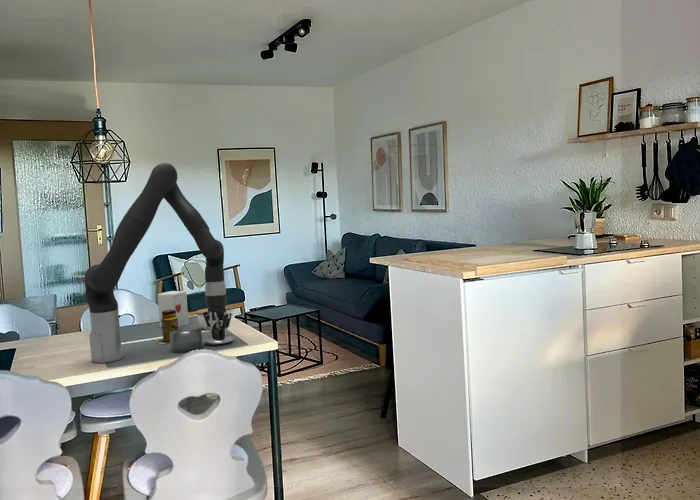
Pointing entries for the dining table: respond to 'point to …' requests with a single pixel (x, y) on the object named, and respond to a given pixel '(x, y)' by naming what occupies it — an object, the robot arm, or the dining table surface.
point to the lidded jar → (202, 319)
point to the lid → (217, 338)
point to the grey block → (185, 339)
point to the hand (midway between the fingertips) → (218, 338)
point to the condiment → (168, 325)
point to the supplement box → (174, 305)
